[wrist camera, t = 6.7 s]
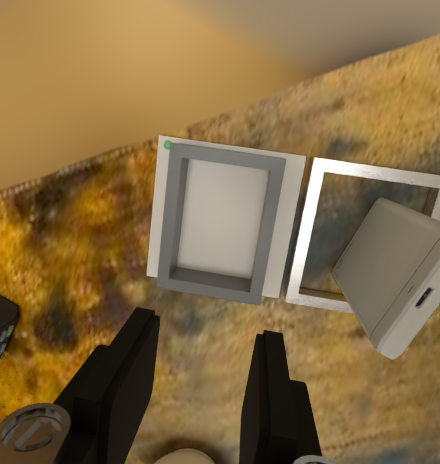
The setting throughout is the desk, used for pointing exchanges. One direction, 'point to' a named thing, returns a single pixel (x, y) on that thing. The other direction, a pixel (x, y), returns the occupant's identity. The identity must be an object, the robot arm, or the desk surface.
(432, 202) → the rectangular frame tray
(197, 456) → the lidded jar
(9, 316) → the card reader
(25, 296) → the desk surface
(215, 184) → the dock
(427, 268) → the hard drive
